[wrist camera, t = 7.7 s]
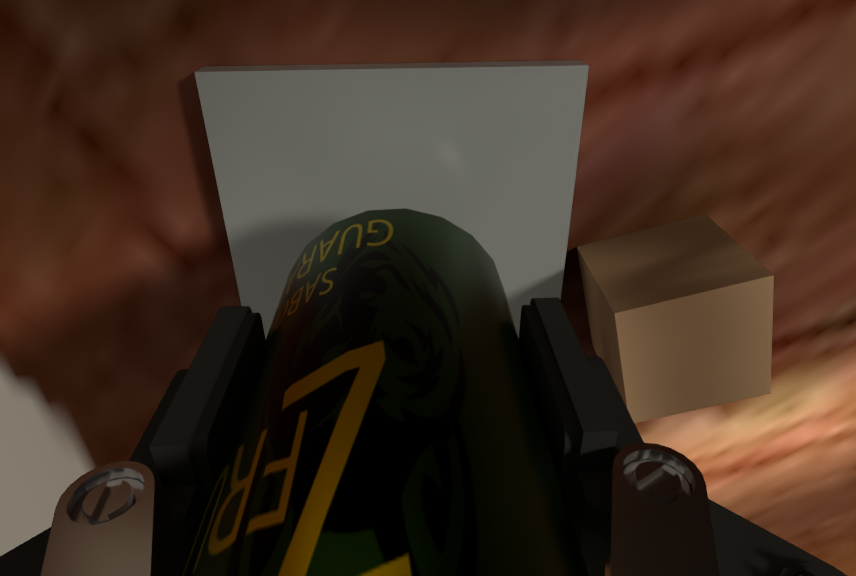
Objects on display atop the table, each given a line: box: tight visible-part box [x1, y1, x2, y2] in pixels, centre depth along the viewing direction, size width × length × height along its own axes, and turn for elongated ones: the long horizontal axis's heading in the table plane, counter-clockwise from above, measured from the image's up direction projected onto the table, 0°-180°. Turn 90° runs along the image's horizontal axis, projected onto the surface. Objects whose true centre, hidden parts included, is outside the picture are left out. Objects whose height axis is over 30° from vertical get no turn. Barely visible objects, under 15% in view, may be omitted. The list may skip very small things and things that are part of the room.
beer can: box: [182, 208, 589, 576], centre depth 10 cm, size 5×5×12 cm
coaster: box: [194, 60, 589, 339], centre depth 18 cm, size 10×10×1 cm
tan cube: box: [577, 214, 774, 423], centre depth 18 cm, size 4×4×4 cm
